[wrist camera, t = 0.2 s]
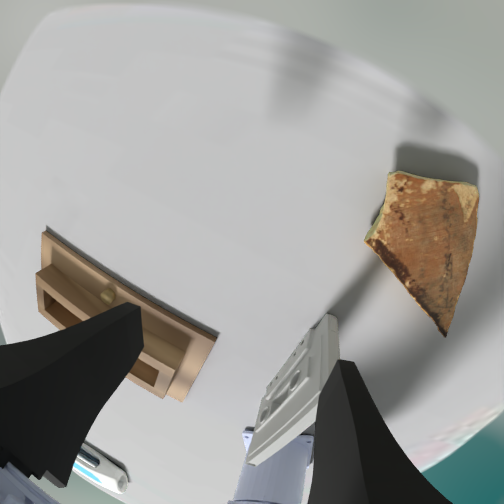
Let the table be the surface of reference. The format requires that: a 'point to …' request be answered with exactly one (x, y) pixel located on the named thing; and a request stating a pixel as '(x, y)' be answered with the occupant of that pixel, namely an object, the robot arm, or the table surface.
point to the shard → (427, 239)
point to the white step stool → (101, 471)
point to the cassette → (295, 392)
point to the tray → (111, 295)
